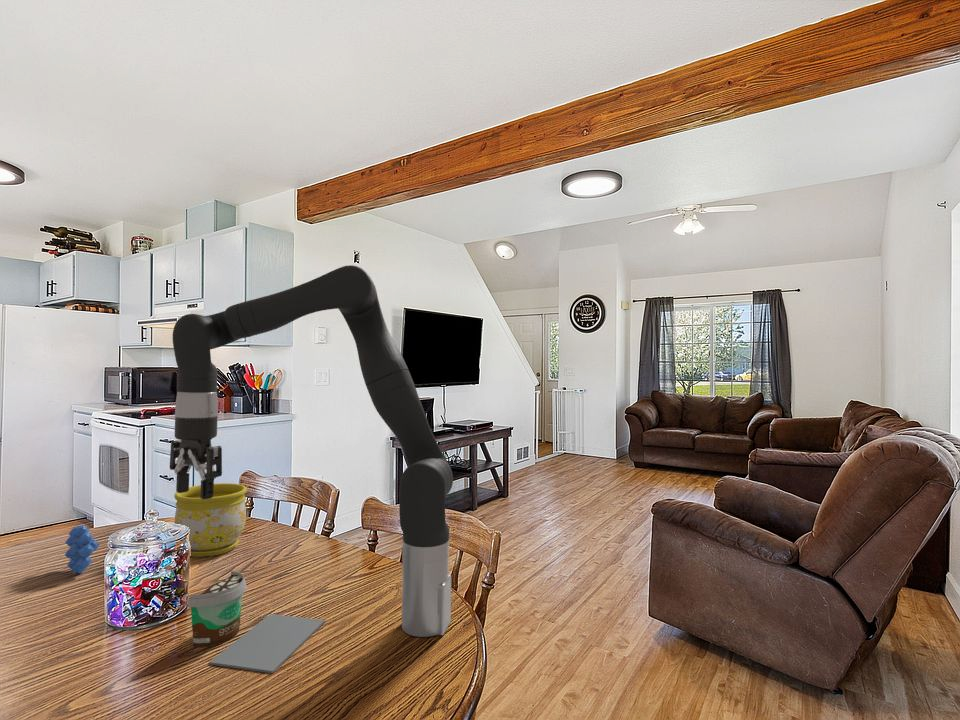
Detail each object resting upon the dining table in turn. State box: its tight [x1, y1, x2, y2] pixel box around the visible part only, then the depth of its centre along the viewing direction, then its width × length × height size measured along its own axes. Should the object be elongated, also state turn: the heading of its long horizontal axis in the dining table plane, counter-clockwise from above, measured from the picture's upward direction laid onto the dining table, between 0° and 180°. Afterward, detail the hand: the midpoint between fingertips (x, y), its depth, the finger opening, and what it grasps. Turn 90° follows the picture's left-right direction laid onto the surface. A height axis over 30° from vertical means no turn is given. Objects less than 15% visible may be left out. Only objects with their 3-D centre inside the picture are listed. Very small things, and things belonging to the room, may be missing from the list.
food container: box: [187, 570, 248, 648], centre depth 101 cm, size 12×6×10 cm, turn 168°
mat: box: [208, 613, 326, 674], centre depth 99 cm, size 12×18×1 cm
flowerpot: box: [173, 482, 248, 558], centre depth 147 cm, size 18×18×16 cm
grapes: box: [64, 524, 101, 575], centre depth 130 cm, size 12×7×12 cm, turn 55°
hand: (194, 495), depth 106 cm, fingers open, 8 cm apart
